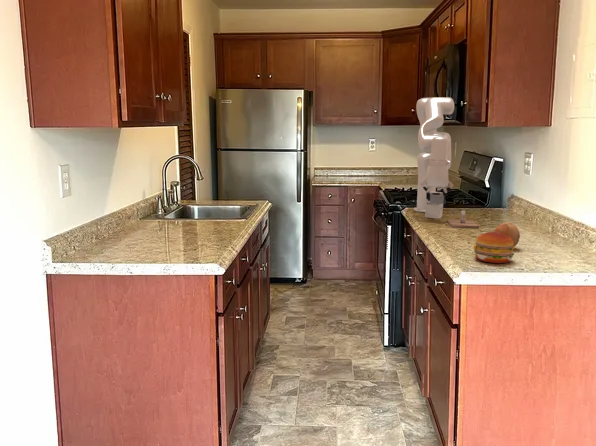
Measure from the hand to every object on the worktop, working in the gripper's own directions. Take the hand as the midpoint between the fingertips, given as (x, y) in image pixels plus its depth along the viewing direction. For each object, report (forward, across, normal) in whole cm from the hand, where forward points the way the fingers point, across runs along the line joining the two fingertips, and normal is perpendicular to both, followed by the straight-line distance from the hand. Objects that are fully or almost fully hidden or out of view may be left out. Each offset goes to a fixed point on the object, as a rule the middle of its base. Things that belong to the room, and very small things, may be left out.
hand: (435, 200), depth 264 cm
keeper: (+10, -12, +6) cm, 17 cm away
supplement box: (+11, -1, -12) cm, 17 cm away
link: (+1, 0, 0) cm, 1 cm away
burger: (+7, -11, +74) cm, 76 cm away
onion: (+8, -20, +54) cm, 59 cm away
